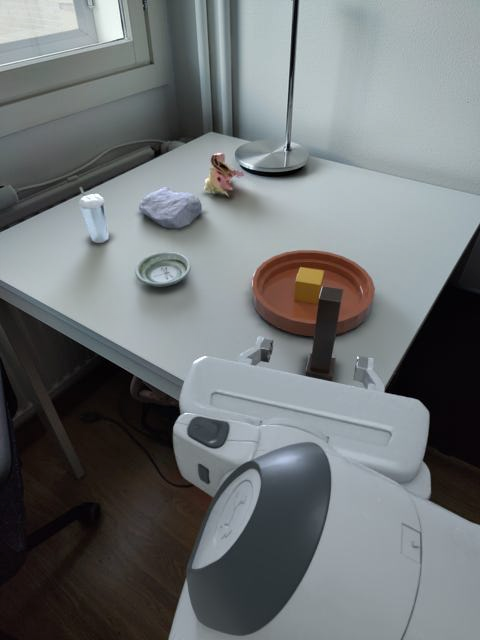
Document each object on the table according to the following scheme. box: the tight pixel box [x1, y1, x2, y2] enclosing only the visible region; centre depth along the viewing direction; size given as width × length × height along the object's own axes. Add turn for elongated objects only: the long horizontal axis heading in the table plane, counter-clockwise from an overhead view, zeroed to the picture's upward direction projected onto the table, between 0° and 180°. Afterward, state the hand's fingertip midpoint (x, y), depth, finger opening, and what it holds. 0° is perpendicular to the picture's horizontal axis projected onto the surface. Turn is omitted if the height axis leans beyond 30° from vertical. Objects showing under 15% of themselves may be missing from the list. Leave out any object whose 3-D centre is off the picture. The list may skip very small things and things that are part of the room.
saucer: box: [134, 251, 192, 288], centre depth 81 cm, size 10×10×2 cm
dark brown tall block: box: [304, 286, 343, 382], centre depth 60 cm, size 4×4×14 cm
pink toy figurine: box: [203, 152, 245, 197], centre depth 106 cm, size 9×10×10 cm
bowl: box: [251, 249, 376, 337], centre depth 76 cm, size 20×20×3 cm
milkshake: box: [78, 186, 109, 244], centre depth 89 cm, size 5×5×10 cm
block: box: [294, 267, 324, 304], centre depth 75 cm, size 4×4×4 cm
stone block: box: [138, 186, 203, 230], centre depth 98 cm, size 12×5×10 cm
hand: (314, 351), depth 44 cm, fingers open, 8 cm apart
